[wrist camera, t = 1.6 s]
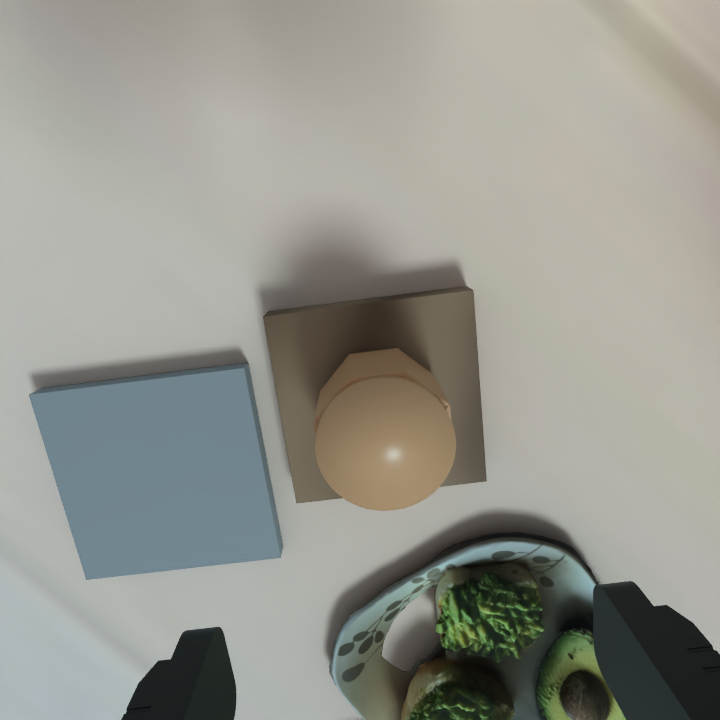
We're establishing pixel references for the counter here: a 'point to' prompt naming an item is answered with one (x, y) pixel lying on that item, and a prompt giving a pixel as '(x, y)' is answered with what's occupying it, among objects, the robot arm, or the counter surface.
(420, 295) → the post stand
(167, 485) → the tile
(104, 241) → the counter surface
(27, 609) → the counter surface
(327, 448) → the cap
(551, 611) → the salad plate
